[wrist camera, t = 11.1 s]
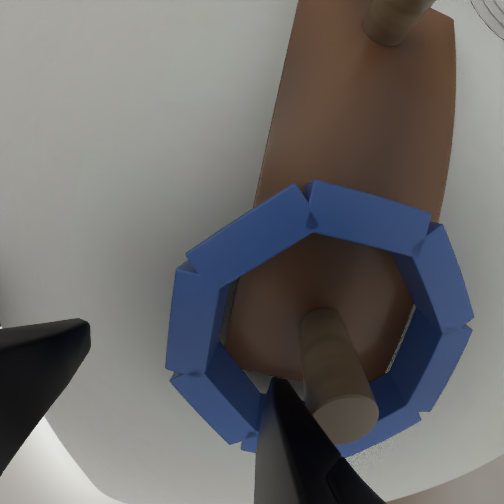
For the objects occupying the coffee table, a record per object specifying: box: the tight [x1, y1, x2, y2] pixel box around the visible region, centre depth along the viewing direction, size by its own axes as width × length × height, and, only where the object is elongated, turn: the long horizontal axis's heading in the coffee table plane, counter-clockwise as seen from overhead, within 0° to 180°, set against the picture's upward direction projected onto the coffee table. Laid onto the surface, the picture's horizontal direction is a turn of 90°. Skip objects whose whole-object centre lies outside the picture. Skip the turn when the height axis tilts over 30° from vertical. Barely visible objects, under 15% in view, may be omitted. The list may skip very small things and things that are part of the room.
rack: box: [224, 0, 456, 445], centre depth 9 cm, size 8×20×8 cm, turn 168°
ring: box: [165, 180, 474, 458], centre depth 11 cm, size 12×12×3 cm
